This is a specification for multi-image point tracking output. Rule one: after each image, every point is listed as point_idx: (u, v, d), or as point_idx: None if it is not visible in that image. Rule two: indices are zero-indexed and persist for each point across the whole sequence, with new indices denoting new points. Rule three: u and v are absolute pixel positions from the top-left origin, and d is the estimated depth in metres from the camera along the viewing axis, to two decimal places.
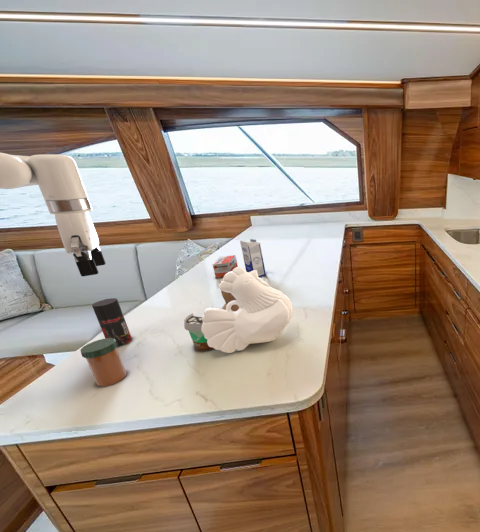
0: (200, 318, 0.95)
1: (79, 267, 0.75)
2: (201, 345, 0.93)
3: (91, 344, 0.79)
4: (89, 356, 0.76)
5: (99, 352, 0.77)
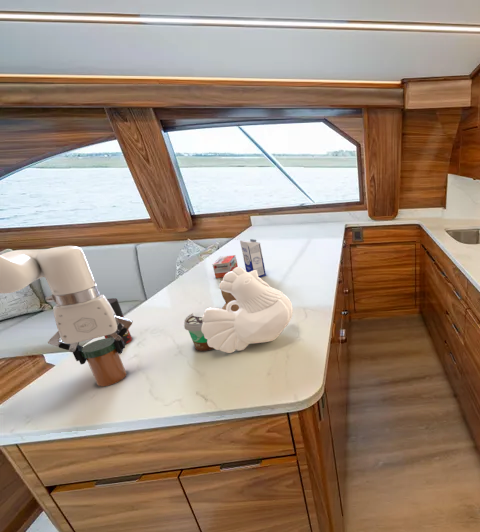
0: (200, 318, 0.95)
1: (118, 345, 0.80)
2: (201, 345, 0.93)
3: (91, 344, 0.79)
4: (89, 356, 0.76)
5: (99, 352, 0.77)
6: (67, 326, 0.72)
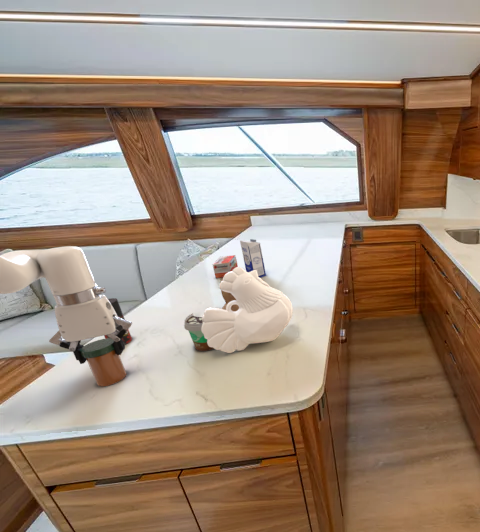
0: (200, 318, 0.95)
1: None
2: (201, 345, 0.93)
3: (103, 345, 0.78)
4: None
5: None
6: None
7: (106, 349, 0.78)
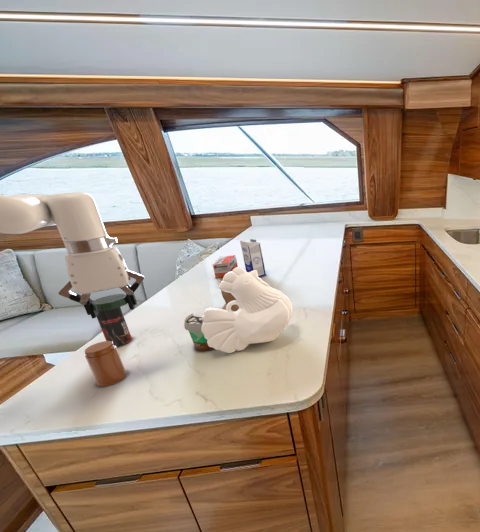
0: (200, 318, 0.95)
1: None
2: (201, 345, 0.93)
3: (116, 299, 0.76)
4: None
5: None
6: None
7: (120, 302, 0.75)
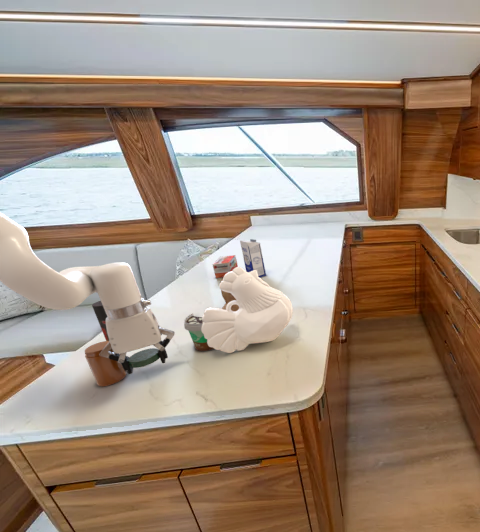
0: (200, 318, 0.95)
1: None
2: (201, 345, 0.93)
3: (150, 355, 0.82)
4: None
5: None
6: None
7: (153, 358, 0.82)
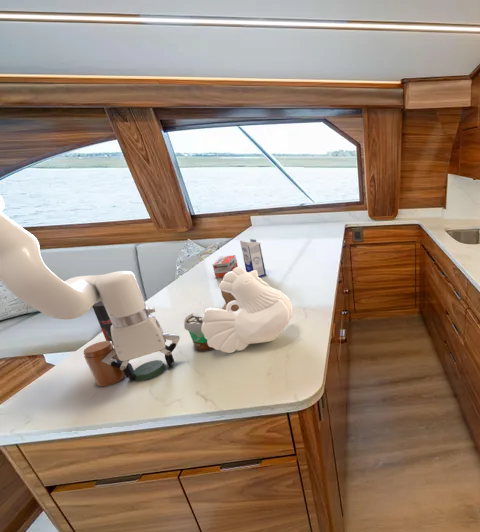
0: (200, 318, 0.95)
1: None
2: (201, 345, 0.93)
3: (155, 367, 0.83)
4: None
5: None
6: None
7: (158, 371, 0.83)
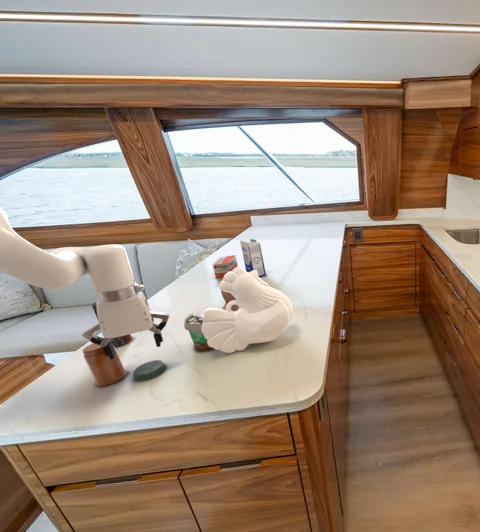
0: (200, 318, 0.95)
1: None
2: (201, 345, 0.93)
3: (155, 367, 0.83)
4: None
5: None
6: None
7: (158, 371, 0.83)
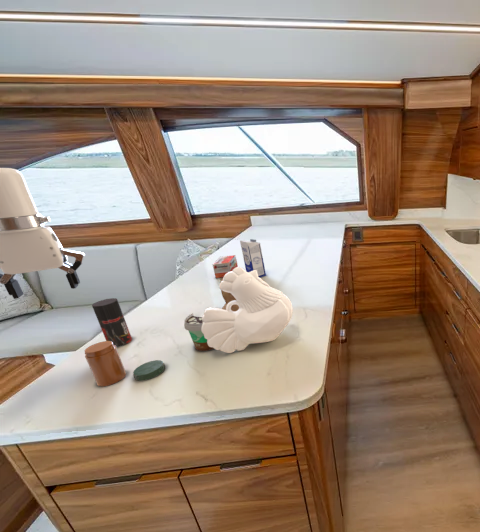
0: (200, 318, 0.95)
1: None
2: (201, 345, 0.93)
3: (155, 367, 0.83)
4: None
5: None
6: None
7: (158, 371, 0.83)
